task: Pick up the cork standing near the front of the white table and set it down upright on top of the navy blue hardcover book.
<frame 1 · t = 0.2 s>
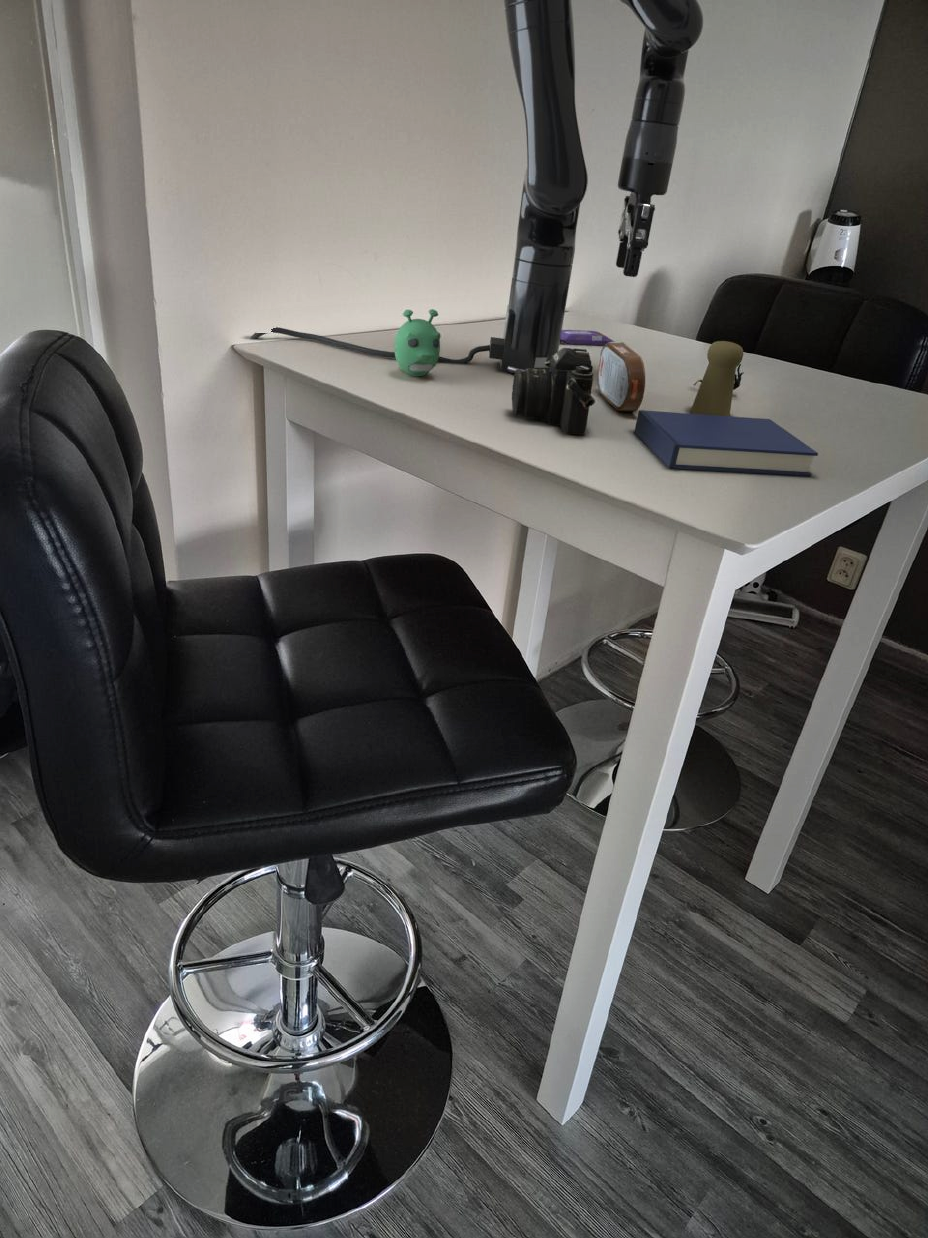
hand: (625, 271, 140), 17 cm above the table, tool pointing down, fingers open, 8 cm apart
tin: (614, 404, 136), on the table
alien toy: (415, 377, 136), on the table
film camera: (549, 419, 125), on the table
snack package: (581, 343, 171), on the table
book: (719, 453, 120), on the table
cork: (709, 415, 137), on the table
creature: (714, 393, 149), on the table
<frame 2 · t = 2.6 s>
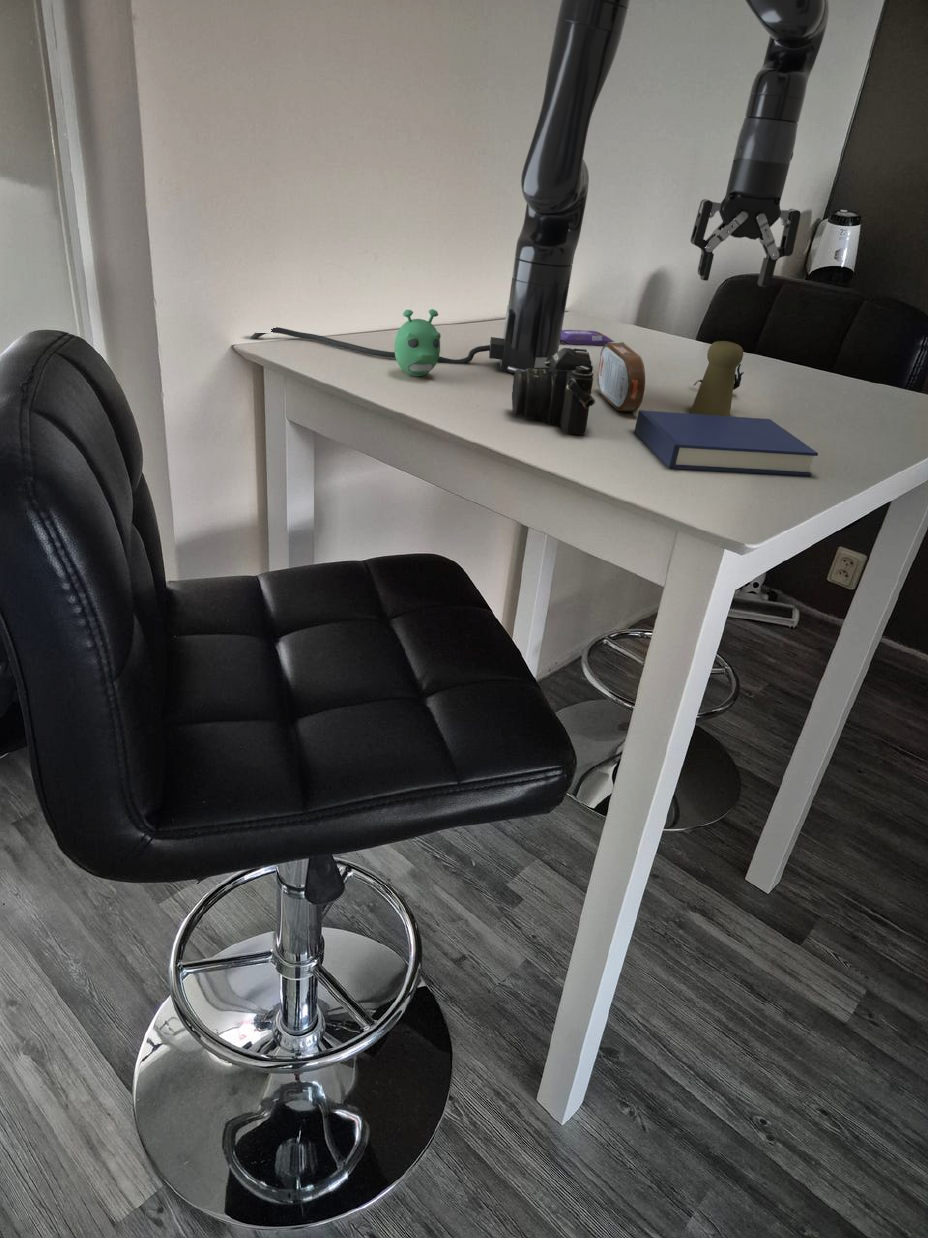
hand: (732, 282, 128), 19 cm above the table, tool pointing down, fingers open, 8 cm apart
nothing on the table moved.
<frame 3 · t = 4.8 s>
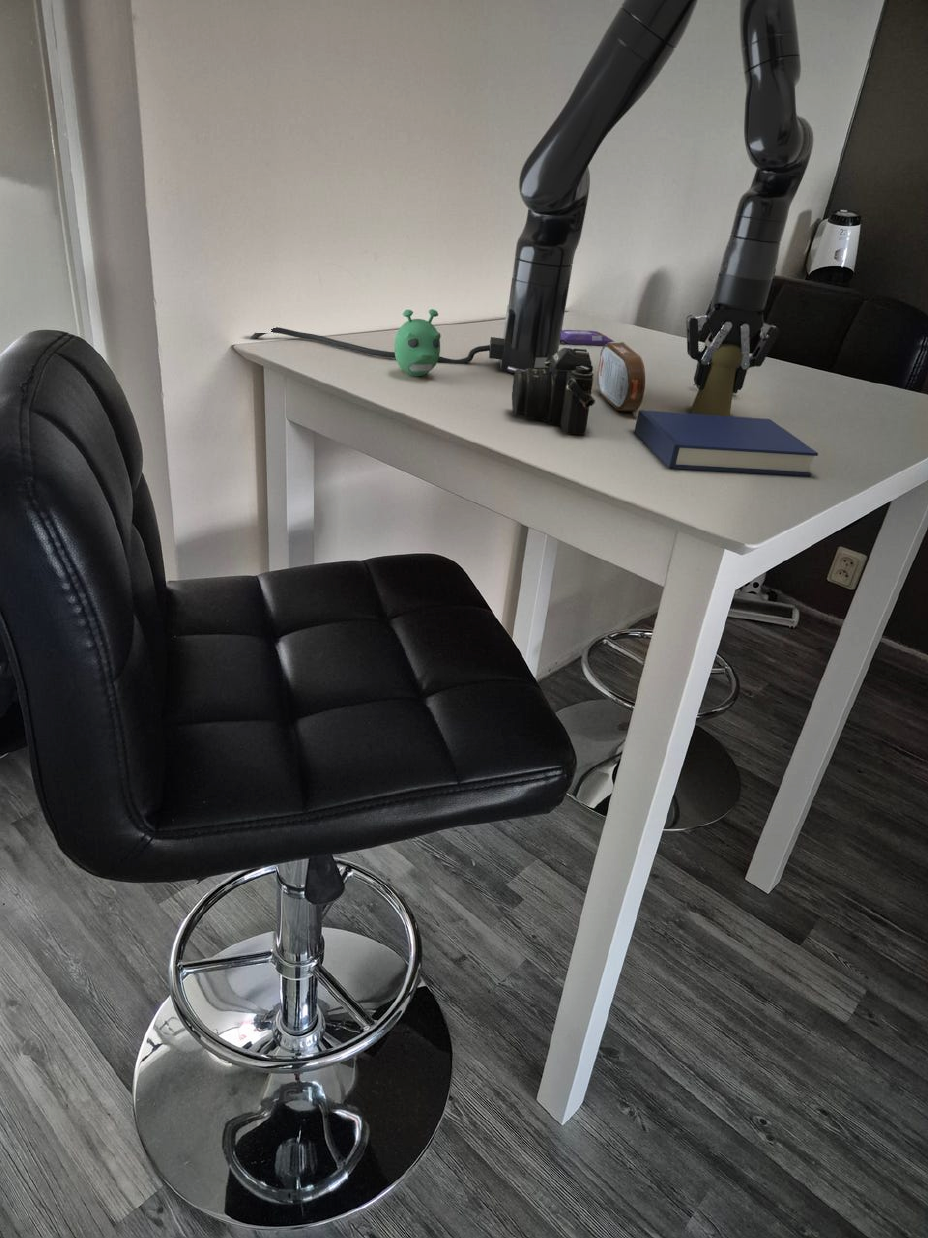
hand: (716, 389, 135), 4 cm above the table, tool pointing down, fingers closed on cork, 4 cm apart
cork: (709, 415, 137), on the table, touching gripper
everything else where it was.
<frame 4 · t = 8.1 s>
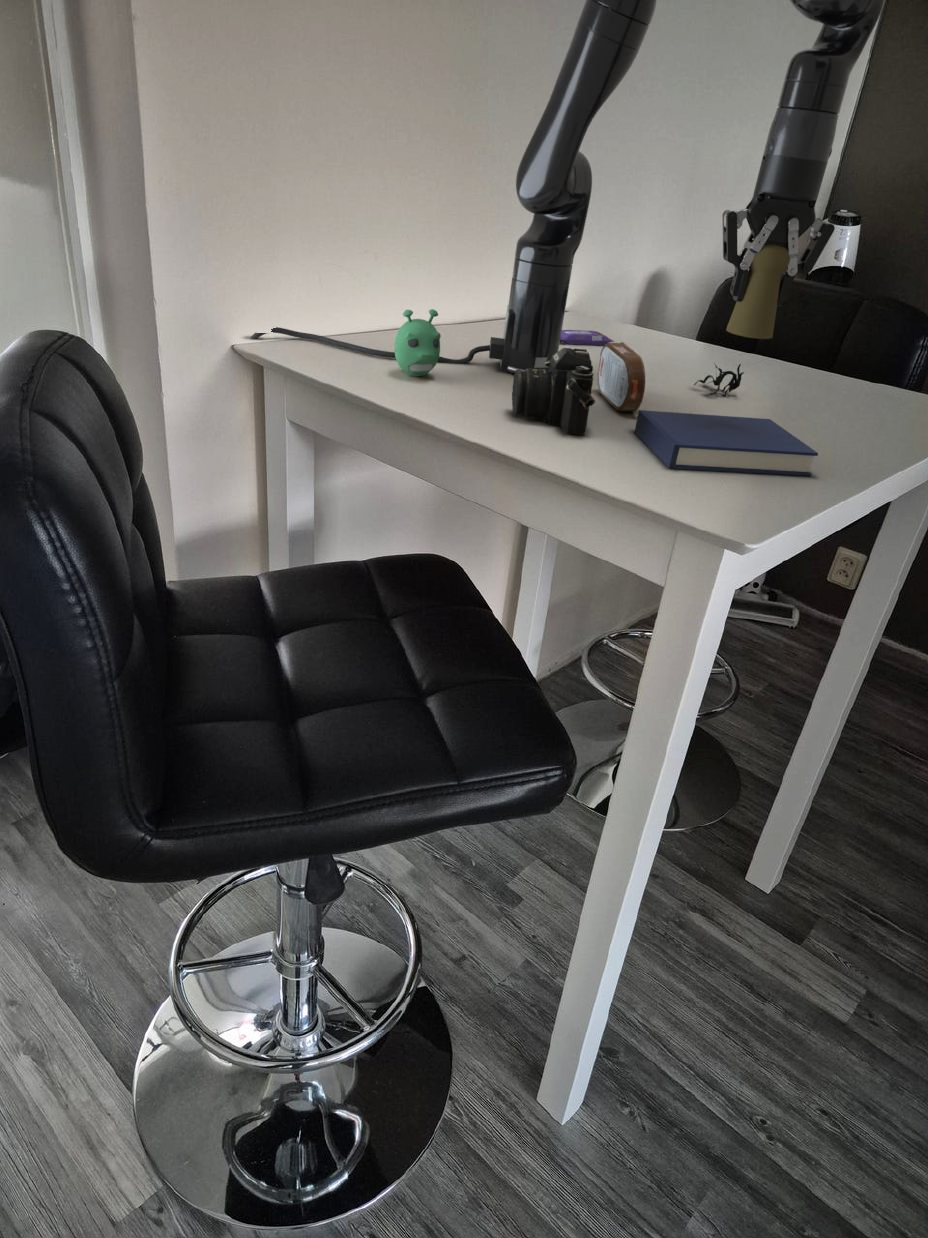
hand: (756, 301, 114), 19 cm above the table, tool pointing down, fingers closed on cork, 4 cm apart
cork: (748, 334, 116), point 15 cm above the table, touching gripper
everything else where it was.
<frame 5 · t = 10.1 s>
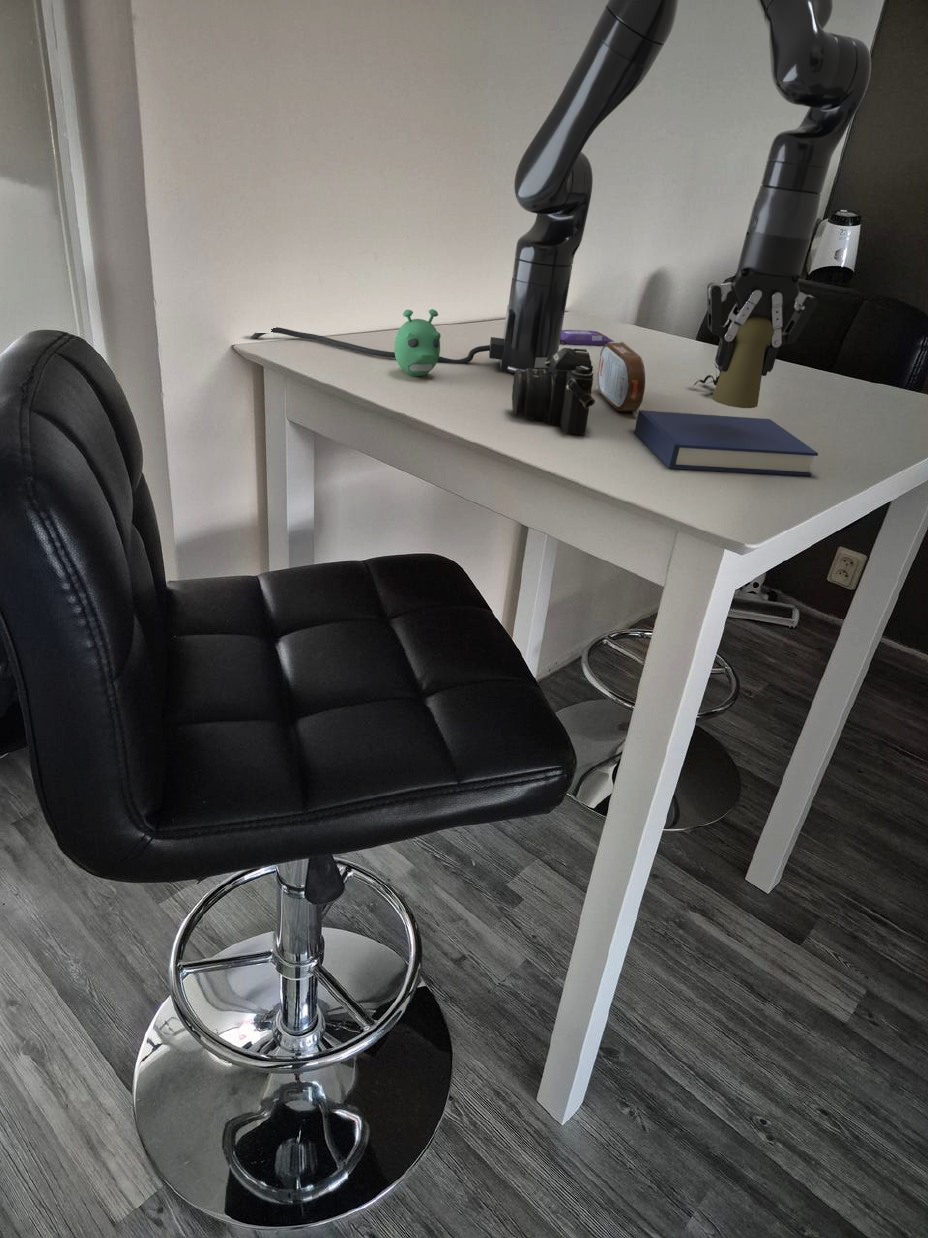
hand: (741, 371, 114), 11 cm above the table, tool pointing down, fingers closed on cork, 4 cm apart
cork: (734, 402, 116), point 7 cm above the table, touching gripper
everything else where it was.
when the fingers open (7 cm above the table, at t = 11.5 s): cork stays where it is, resting on book.
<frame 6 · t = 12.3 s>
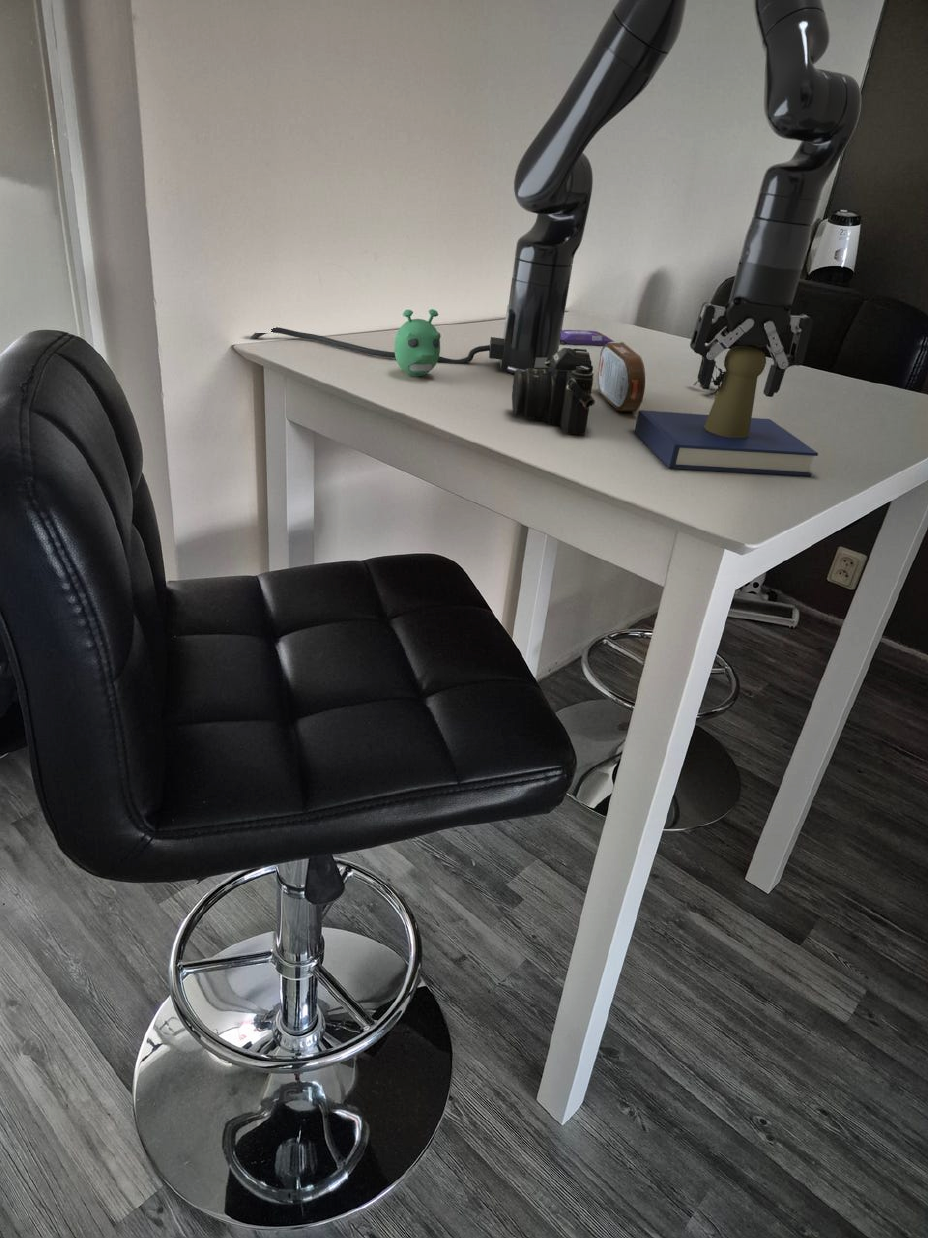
hand: (735, 391, 116), 9 cm above the table, tool pointing down, fingers open, 8 cm apart
cork: (726, 432, 118), point 3 cm above the table, touching book
everything else where it was.
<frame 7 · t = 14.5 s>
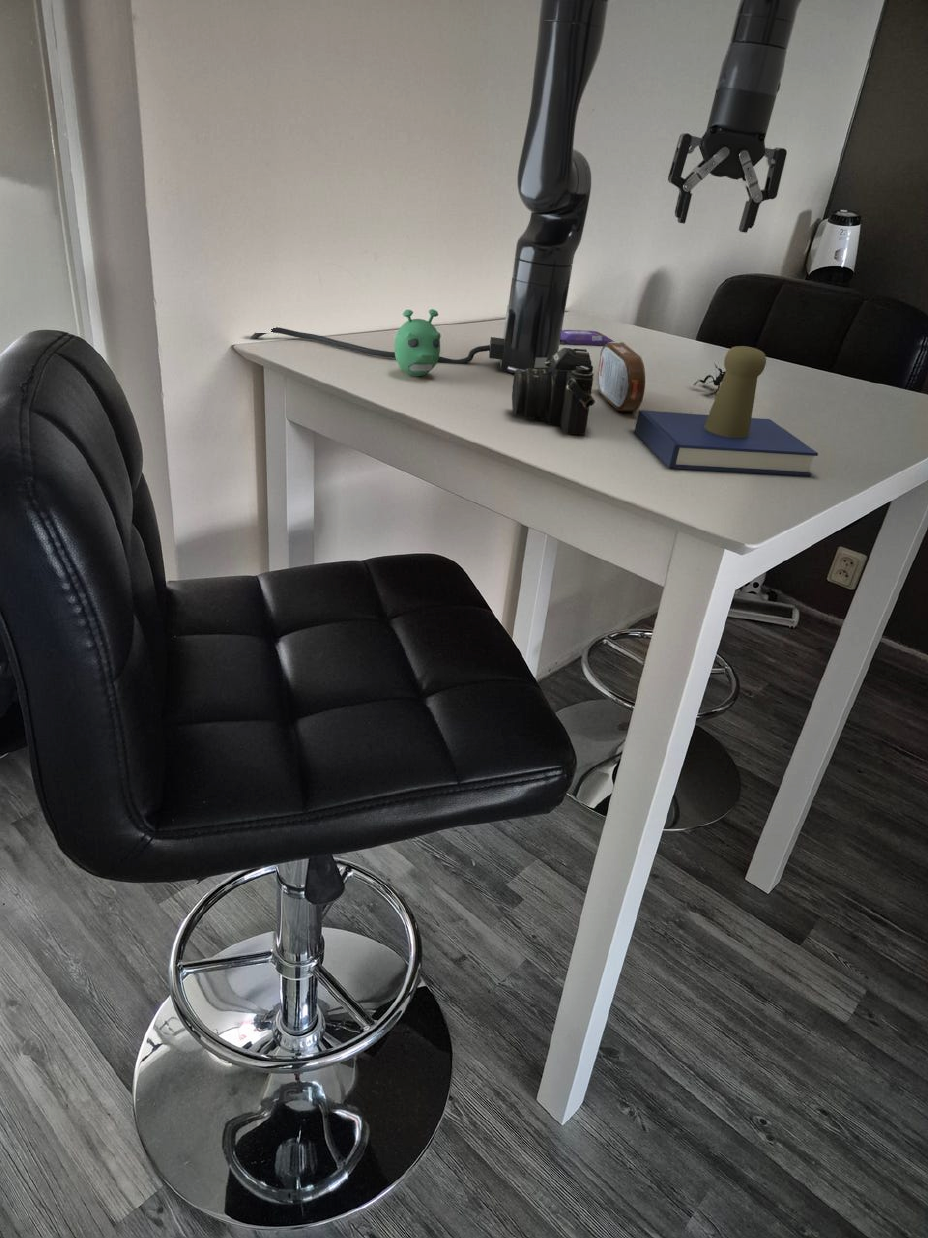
hand: (711, 227, 119), 27 cm above the table, tool pointing down, fingers open, 8 cm apart
nothing on the table moved.
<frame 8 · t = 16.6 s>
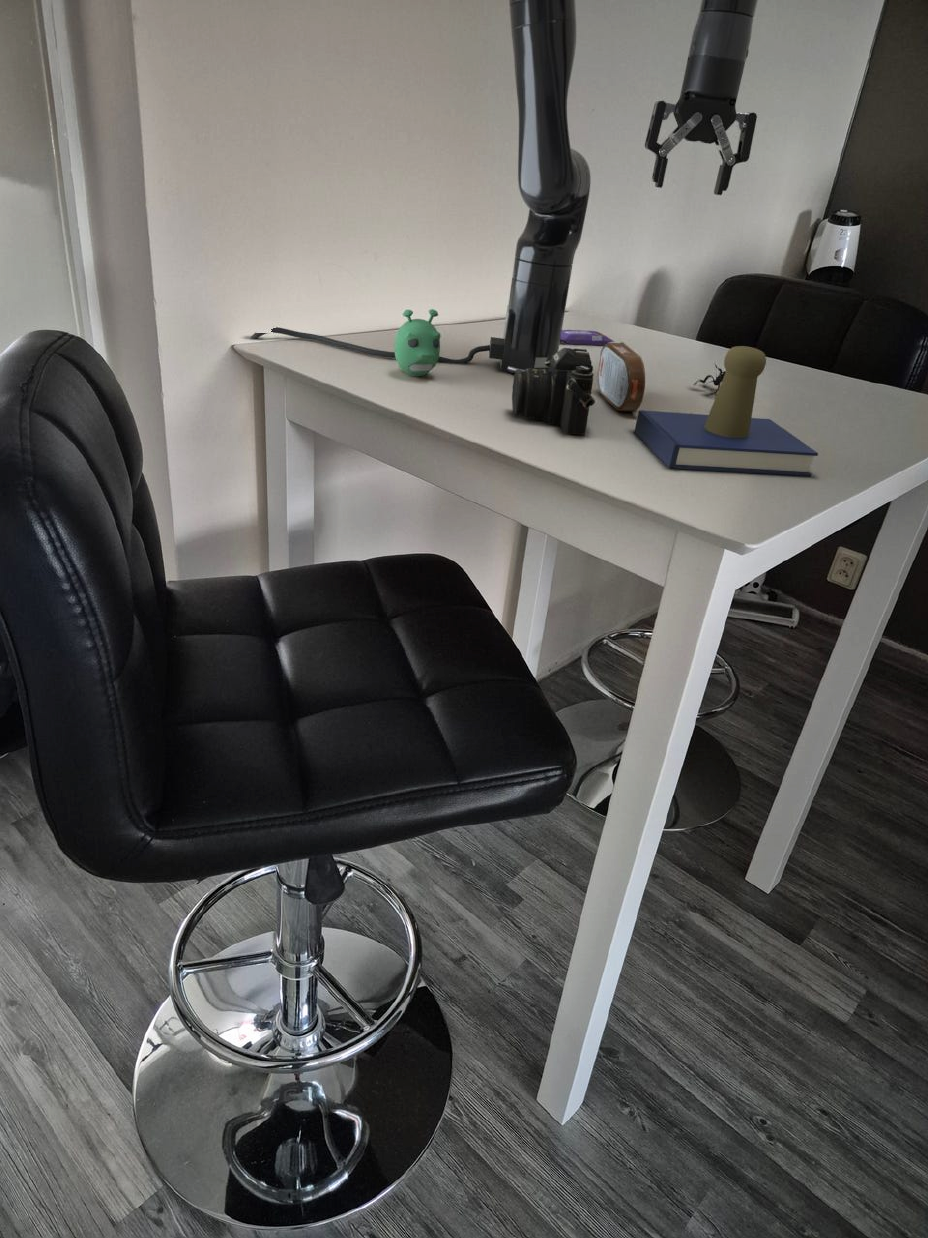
hand: (687, 190, 125), 30 cm above the table, tool pointing down, fingers open, 8 cm apart
nothing on the table moved.
at the end: cork inside the target area on the book (0.1 cm from its centre), point 3.0 cm above the book's base; cork tilted 0°; the gripper is holding nothing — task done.
